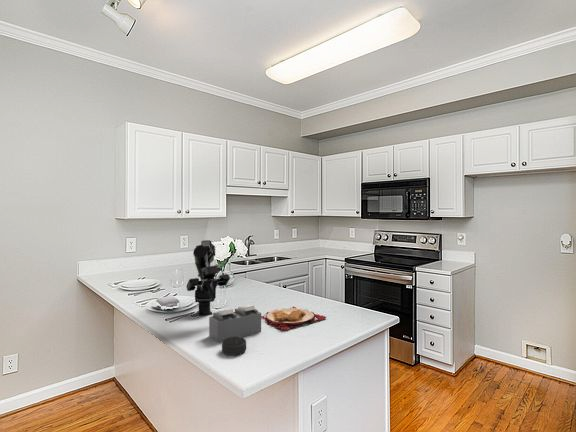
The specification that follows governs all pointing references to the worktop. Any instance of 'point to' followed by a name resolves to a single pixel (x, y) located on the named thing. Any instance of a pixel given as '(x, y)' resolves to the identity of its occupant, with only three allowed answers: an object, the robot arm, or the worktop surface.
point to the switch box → (234, 324)
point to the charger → (167, 301)
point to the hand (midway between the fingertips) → (214, 298)
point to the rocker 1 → (225, 312)
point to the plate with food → (290, 317)
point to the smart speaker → (234, 346)
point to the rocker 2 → (246, 308)
